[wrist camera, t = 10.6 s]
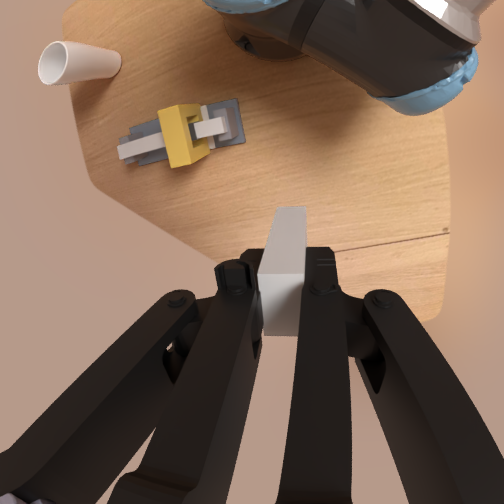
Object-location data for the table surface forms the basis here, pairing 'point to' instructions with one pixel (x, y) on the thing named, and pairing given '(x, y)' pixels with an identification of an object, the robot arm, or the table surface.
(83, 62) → the white cup
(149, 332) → the robot arm
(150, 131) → the rail
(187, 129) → the collar
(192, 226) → the table surface
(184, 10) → the table surface
